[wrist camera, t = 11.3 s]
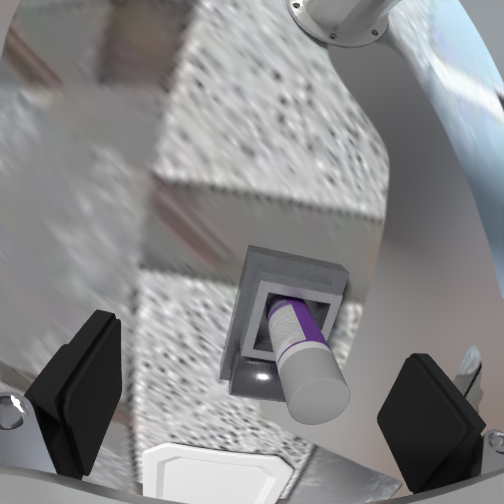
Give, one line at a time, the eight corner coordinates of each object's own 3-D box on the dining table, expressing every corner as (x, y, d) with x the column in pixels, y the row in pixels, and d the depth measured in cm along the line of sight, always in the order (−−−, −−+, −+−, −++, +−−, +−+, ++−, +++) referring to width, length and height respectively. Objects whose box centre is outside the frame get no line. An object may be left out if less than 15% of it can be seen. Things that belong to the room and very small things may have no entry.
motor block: (248, 244, 36) (253, 266, 28) (340, 264, 37) (366, 289, 29) (220, 365, 39) (218, 405, 32) (302, 377, 41) (314, 416, 33)
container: (316, 315, 35) (362, 401, 21) (282, 339, 36) (309, 434, 21) (291, 285, 34) (331, 365, 19) (256, 311, 34) (272, 403, 20)
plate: (262, 515, 51) (263, 523, 49) (145, 500, 48) (143, 508, 46) (299, 449, 45) (301, 459, 43) (144, 429, 42) (142, 439, 40)
